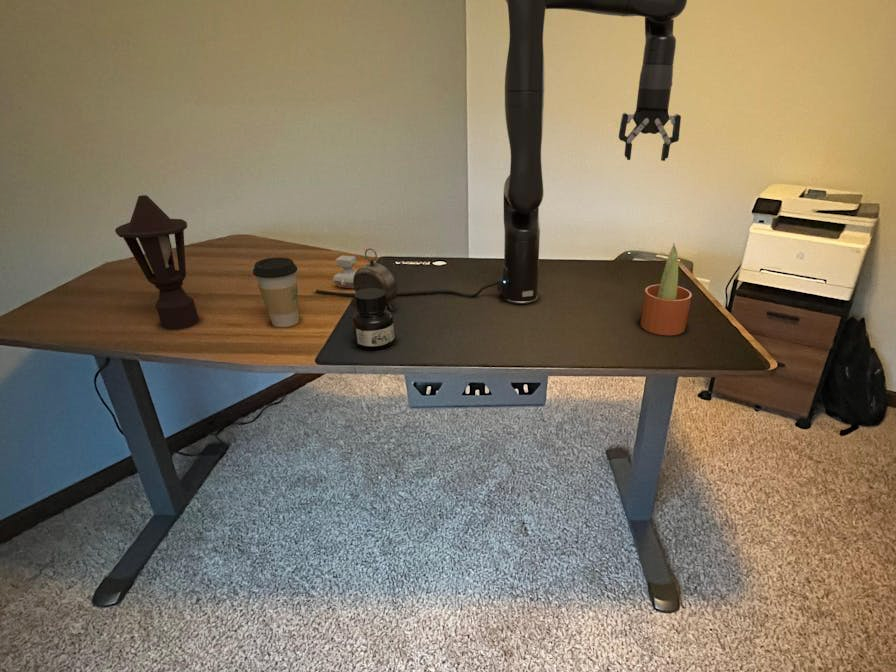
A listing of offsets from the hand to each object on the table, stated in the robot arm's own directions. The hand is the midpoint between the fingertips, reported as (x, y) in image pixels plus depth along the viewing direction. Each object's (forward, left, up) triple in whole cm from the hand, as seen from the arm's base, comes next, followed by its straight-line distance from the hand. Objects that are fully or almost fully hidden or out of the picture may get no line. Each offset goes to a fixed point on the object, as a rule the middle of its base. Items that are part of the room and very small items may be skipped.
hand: (645, 159), depth 141 cm
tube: (+6, -19, -36) cm, 41 cm away
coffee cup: (-87, -27, -36) cm, 98 cm away
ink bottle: (-62, -36, -36) cm, 80 cm away
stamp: (-79, -1, -36) cm, 87 cm away
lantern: (-112, -30, -36) cm, 121 cm away
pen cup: (+6, -20, -36) cm, 42 cm away
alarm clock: (-67, -17, -36) cm, 78 cm away
